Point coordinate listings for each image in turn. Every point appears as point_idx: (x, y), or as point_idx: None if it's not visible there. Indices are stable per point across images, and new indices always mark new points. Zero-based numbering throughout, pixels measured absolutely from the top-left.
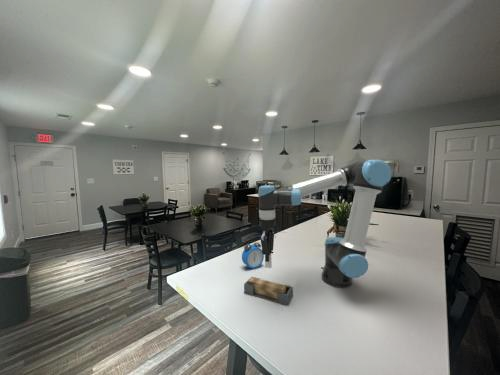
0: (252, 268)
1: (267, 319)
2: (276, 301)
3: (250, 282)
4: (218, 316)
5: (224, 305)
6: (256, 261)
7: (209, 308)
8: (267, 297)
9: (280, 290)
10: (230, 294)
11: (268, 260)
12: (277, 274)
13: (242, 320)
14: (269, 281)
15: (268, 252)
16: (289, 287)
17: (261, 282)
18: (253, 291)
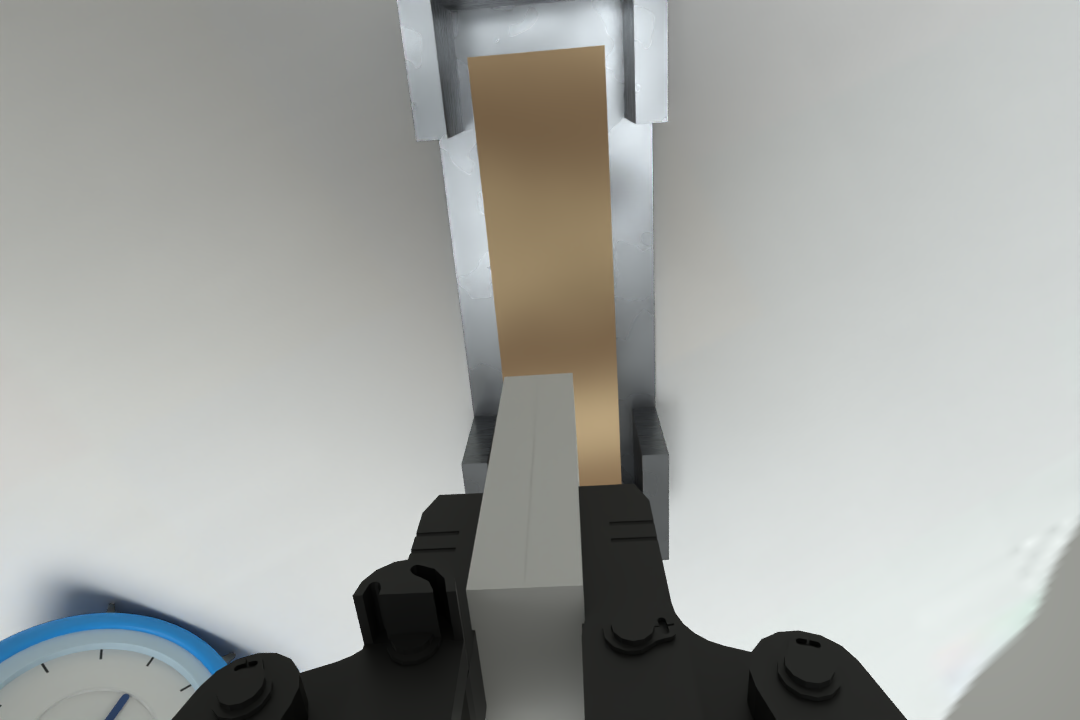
0: (207, 644)
1: (965, 85)
2: (651, 124)
3: None
4: (1062, 501)
5: (906, 540)
6: (103, 681)
7: (987, 612)
8: (631, 252)
9: (604, 94)
10: (734, 582)
11: (620, 503)
12: (101, 367)
13: (1055, 302)
14: (497, 325)
15: (698, 703)
16: (432, 12)
17: (577, 404)
18: (653, 422)
